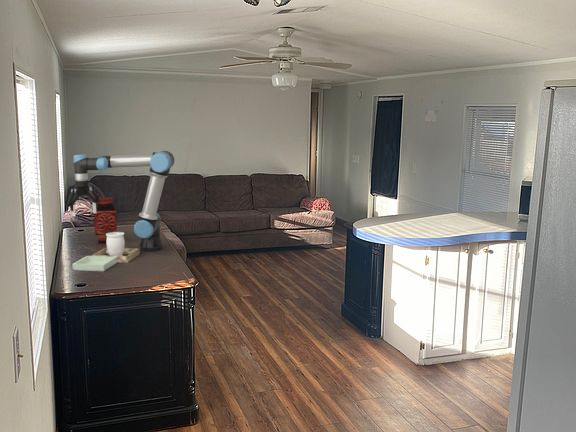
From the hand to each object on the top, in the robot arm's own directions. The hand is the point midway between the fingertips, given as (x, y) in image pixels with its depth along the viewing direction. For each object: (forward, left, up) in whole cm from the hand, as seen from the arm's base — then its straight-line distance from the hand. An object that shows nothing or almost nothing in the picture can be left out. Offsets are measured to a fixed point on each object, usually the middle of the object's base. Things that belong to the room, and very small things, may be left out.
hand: (84, 214), depth 350 cm
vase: (0, -29, -25) cm, 38 cm away
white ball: (-30, +1, -24) cm, 39 cm away
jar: (-22, +7, -25) cm, 34 cm away
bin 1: (-18, +27, -24) cm, 41 cm away
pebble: (-14, +1, -24) cm, 28 cm away
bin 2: (-22, +7, -24) cm, 34 cm away
